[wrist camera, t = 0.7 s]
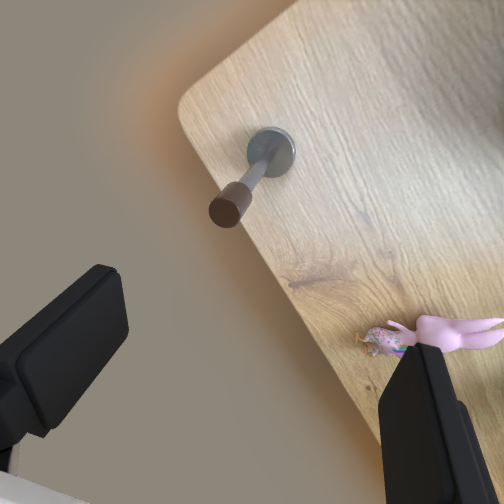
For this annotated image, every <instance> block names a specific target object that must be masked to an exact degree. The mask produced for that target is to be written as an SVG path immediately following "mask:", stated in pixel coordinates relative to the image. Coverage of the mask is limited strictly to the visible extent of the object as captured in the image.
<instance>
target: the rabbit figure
mask: <svg viewBox="0 0 504 504" xmlns="http://www.w3.org/2000/svg"><path fill="white" fill-rule="evenodd" d="M503 321H504V319H503V318H491V319H453V320H447V319H445V318H443V317H438V316H427V315H421V316H419V317H418V318H417V320H416V327H417V330H416V331H410V330H408V329H407V328H405V327H404V326H402V325H400V324H398V323H395V322H393V321H390V320H387V321H386V323H387V325H390V326H394V327H396V328H398V329H399V330H397V331H391V330H388V329H384V328H380V327H373V328H371V329H370V330H369V331H368V333H367V335H366V336H365V338H364V339H360V338H359V332H356V342H355V343H357V341H358V340H359V341H362V342H373V343H374V345H373V350H372V352H368V349H367V346H366V347H365V345H364V354H365V355H366V354H368V355H370V356H372V357H373V356H375V355H377V354H384V355H387V356H390V355H393V354H394V355H396V356H398V357H399V358H402V356H403V354H404V352H405V350H406V349H407V348H401V349H399V348H400V347H401V346H402V345H407V346H409V345H411V346H414V345H415V344H416V342H420V343H423V344H428V345H432V346H436V347H439V348H440V349H441V351H442V353H447V352H451V351H454V350H456V349H458V348H465V349H482V348H487V347H490V346H492V345H494V344H496V343H497V342H499V341H500V340H501V339H502V338H503V337H504V329H499V330H491V331H484V332H478V331H483V330H486V329H489V328H491V327H493V326H495V325H496V324H498V323H501V322H503ZM357 333H358V334H357ZM365 355H364V356H365ZM364 356H363V357H364Z"/></svg>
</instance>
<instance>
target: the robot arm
mask: <svg viewBox="0 0 504 504" xmlns="http://www.w3.org/2000/svg"><path fill="white" fill-rule="evenodd" d="M128 331H129V327H128V321H127V314H126V309H125V302H124V295H123V289H122V282H121V277H120V274H118V273H117V270H116V269H115V268H113V267H109V266H105V265H100V264H97V265H95V266H93V267H92V268H91V269H90V270H89V271H87V272H86V273H85V274H84V275H83V276H81V277H80V278H79V279H78V280H77V281H75V282H74V283H73V284H72V285H71V286H69V287H68V288H67V289H66V290H65V291H64V292H62V293H61V294H60V295H59V296H58V297H56V298H55V299H54V300H53V301H52V302H50V303H49V304H48V305H47V306H46V307H44V308H43V309H42V310H41V311H40V312H38V313H37V314H36V315H35V316H34V317H32V319H30V320H29V321H28V322H27V323H25V324H24V325H23V326H22V327H21V328H19V329H18V330H17V331H16V332H15V333H13V334H12V335H11V336H10V337H9V338H8V339H6V340H5V341H4V342H3V343H1V344H0V504H90V503H88V502H85V501H82V500H80V499H77V498H74V497H71V496H69V495H66V494H63V493H61V492H58V491H55V490H52V489H50V488H47V487H44V486H42V485H39V484H36V483H33V482H31V481H28V480H25V479H23V478H20V477H17V468H18V458H19V447H20V440H21V439H22V438H23V437H24V436H25V435H26V433H27V432H28V433H30V434H33V435H36V436H39V437H42V438H44V437H45V436H46V435H47V434H48V432H49V431H50V430H51V429H54V428H56V427H57V426H59V424H60V423H61V422H62V421H63V419H64V418H65V417H66V416H67V414H68V413H69V412H70V410H71V409H72V408H73V407H74V405H75V404H76V403H77V401H78V400H79V399H80V398H81V396H82V395H83V394H84V392H85V391H86V390H87V388H88V387H89V386H90V385H91V383H92V382H93V381H94V379H95V378H96V377H97V376H98V374H99V373H100V372H101V370H102V369H103V368H104V366H105V365H106V364H107V363H108V361H109V360H110V359H111V357H112V356H113V355H114V354H115V352H116V351H117V349H118V348H119V347H120V346H121V345H122V343H123V342H124V341H125V339H126V338H127V335H128ZM378 414H379V425H380V436H381V448H382V459H383V470H384V481H385V492H386V504H499V501H498V498H497V495H496V492H495V489H494V486H493V483H492V481H491V478H490V475H489V472H488V469H487V466H486V463H485V460H484V457H483V454H482V451H481V448H480V445H479V442H478V439H477V436H476V433H475V431H474V428H473V425H472V422H471V419H470V416H469V413H468V410H467V408H466V406H465V405H464V404H463V403H462V402H461V401H459V400H457V398H456V394H455V391H454V388H453V385H452V382H451V379H450V376H449V373H448V369H447V366H446V363H445V360H444V357H443V354H442V351H441V349H440V348H439V347H436V346H432V345H428V344H423V343H419V342H417V343H416V344H415V345H414V346H411V345H409V346H408V347H407V349H406V350H405V352H404V354H403V356H402V358H401V360H400V362H399V364H398V365H397V367H396V369H395V371H394V373H393V375H392V377H391V378H390V380H389V382H388V384H387V386H386V388H385V390H384V392H383V393H382V395H381V397H380V400H379V404H378Z"/></svg>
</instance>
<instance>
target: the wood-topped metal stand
mask: <svg viewBox="0 0 504 504" xmlns="http://www.w3.org/2000/svg"><path fill="white" fill-rule="evenodd" d="M295 154H296V149H295V144H294V141H293V139H292V138H291V136H290V135H289V134H288V133H287V132H286V131H284V130H283V129H280V128H277V127H267V128H264V129H262V130H260V131H259V132H257V133H256V134H255V135H254V136H253V137H252V138H251V140H250V142H249V144H248V147H247V158H248V162H249V164H250V166H251V167H250V169H249V170H248V171H247V172H246V173H245V174H244V175H243V177H242V178H241V179H240V180H239V181H238V182H231V183H229V184H228V185H227V186H226V187H225V188H224V189H223V190H222V191H221V192H220V194H218V196H217V197H216V198H215V199H214V200H213V201H212V202H211V204H210V206H209V215H210V218H211V219H212V221H213V222H214V223H215V224H216V225H218V226H220V227H223V228H230V227H234V226H235V225H237V223H238V222H239V221H240V219H241V218H242V216H243V215H244V213H245V211H246V210H247V208H248V207H249V205H250V204H251V201H252V193H251V192H252V191H253V189H254V188H255V186H256V185H257V183H258V182H259V181H260V179H261V178H262V176H263V177H267V178H275V177H279V176H281V175H283V174H285V173H286V172H287V171H288V170H289V169H290V167H291V166H292V164H293V161H294V159H295Z"/></svg>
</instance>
